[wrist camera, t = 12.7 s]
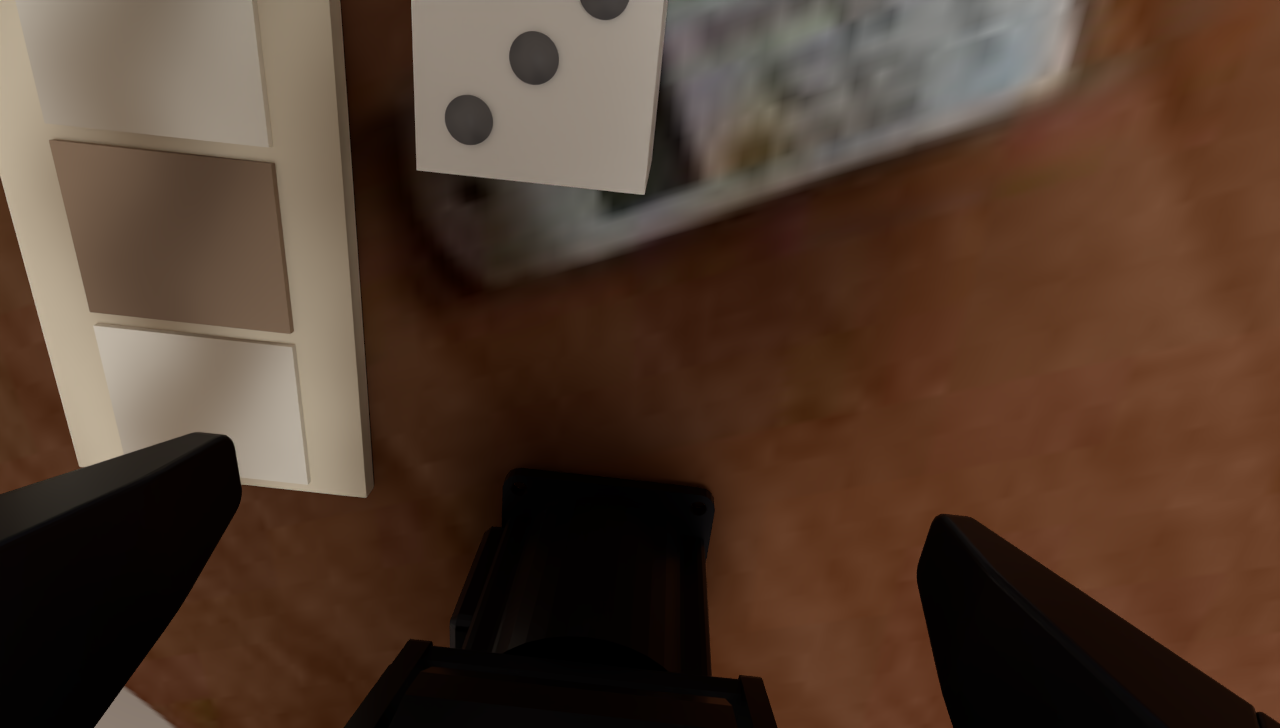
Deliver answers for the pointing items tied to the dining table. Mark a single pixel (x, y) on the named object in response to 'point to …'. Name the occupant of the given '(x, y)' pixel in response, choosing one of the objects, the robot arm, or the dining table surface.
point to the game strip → (192, 227)
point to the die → (538, 89)
